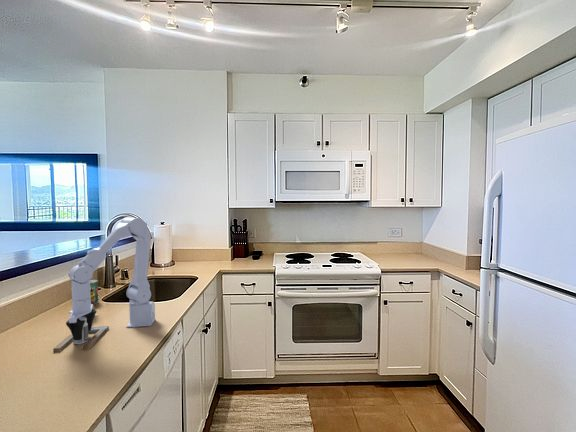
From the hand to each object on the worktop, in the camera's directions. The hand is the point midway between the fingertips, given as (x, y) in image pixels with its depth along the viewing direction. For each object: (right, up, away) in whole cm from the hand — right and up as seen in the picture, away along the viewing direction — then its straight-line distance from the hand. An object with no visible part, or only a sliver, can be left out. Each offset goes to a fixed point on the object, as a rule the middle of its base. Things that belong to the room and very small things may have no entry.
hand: (82, 335), depth 119 cm
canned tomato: (-23, 0, +42) cm, 48 cm away
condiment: (-14, -1, +24) cm, 28 cm away
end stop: (-1, -1, +8) cm, 8 cm away
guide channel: (0, -2, -1) cm, 2 cm away
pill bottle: (0, -2, -1) cm, 2 cm away
